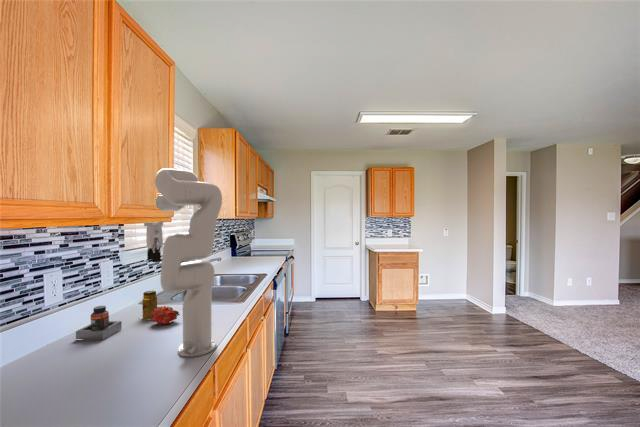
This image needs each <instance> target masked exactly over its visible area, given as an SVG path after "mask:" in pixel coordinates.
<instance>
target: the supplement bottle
mask: <svg viewBox="0 0 640 427" xmlns="http://www.w3.org/2000/svg"><path fill="white" fill-rule="evenodd" d="M106 309H107V305H99V306H94V307H93V310H92V311H93V312H92V313H91V314H90V324H91V330H103V329H105V328H107V327H109V321H110V313H109V311H108V310H106Z"/></svg>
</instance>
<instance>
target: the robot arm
mask: <svg viewBox="0 0 640 427" xmlns="http://www.w3.org/2000/svg"><path fill="white" fill-rule="evenodd" d="M154 186H155V188H156V190H157V191H158V192H159V194H162V195H159V196H158V197H157V199H156V206H157V208H159V210H161V211H163V212H178V211H181V210H182V209H184V208H185V207H186V206H197V207H198V206H200V207H199V208H198V209H197V210H196V211H195V212H194V213H193V214H192V216H191V218H190V220H189V229H188V231H187V232H176V233H171V234H170V235H168V236H167V237H166V239H165V241H163V240H164V239H163V229H162V227H164V221H163V222H157V223H144V222H143V226H144V227H146V236H145V237H146V240H145V241H146V242H145V243H146V247H147V252H146V253H147V260H148V261H152V263H159V262H161V267H160V279H159V280H160V286H161V289H162V290H163V291H164V292H165V293H169V294H171V293H178V292H182V291H187V292H186V294H185V296H184V298H183V301H182V344H180V345H179V346H178V349H177V352H178V355H179V356H180V357H187V358H193V357H198V356H199V357H200V356H204V355H206V354H209V353H210V352H212V351H214V350H215V349H216V347H217V341H216V340H214V339H212V305H213V304H212V296H213V293H212V292H213V284H214V278H215V268H214V265H213V264H212V263H211V262H210V261H207V260H200V259H206V258H209V257H210V256H211V255H212V253H213V250H214V245H215V244H214V243H215V235H216V233H215V232H216V227H217V226H216V225H217V221H218V217H219V216H220V215H219V214H220V212H221V208H222V205H223V194H222V191H221V189H220V188H219V186H217V185H215V184H214V183H209V182H204V181H199V178H198V175H196V174H195V173H194V172H192V171H190V170H187V169H186V170H185V169H178V168H177V169H175V168H168V167H167V168H166V167H165V168H161V169H160V170H159V171H158V172H157V173H156V174H155V178H154ZM161 248H162V250H161ZM161 252H162V254H161Z"/></svg>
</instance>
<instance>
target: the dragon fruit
mask: <svg viewBox="0 0 640 427" xmlns="http://www.w3.org/2000/svg"><path fill="white" fill-rule="evenodd" d="M180 315H181V314H180V312H179V311H178V310H175V309H173V308H172V307H171V306H166V305H164V306H157V308H156V309H154V310H153V311H152V312H151V315H150V317H151V318H152V319H151V320H150V322H151V323H157V325H159V326H161V325H171V324H172V325H173V323H174V322H173V321H175V320H177V318H178V316H180Z"/></svg>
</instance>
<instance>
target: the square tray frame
mask: <svg viewBox="0 0 640 427" xmlns="http://www.w3.org/2000/svg"><path fill="white" fill-rule="evenodd" d="M122 322H123V321H121V320H118V321H117V320H114V321H113V320H112V321H111V320H109V327H107V328H105V329H103V330H91V323H90V324H88V325H86V326H84V327H82V328H79V329H77V330H76V331H75V340H76V339H84V340H83V341H104V340H106V339H108V338H109V337H111V336H113V335H114V333H115V334H116V333H118V332H119V330H120V331H122V330H121V329H122V324H123V323H122ZM107 337H108V338H107Z"/></svg>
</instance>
